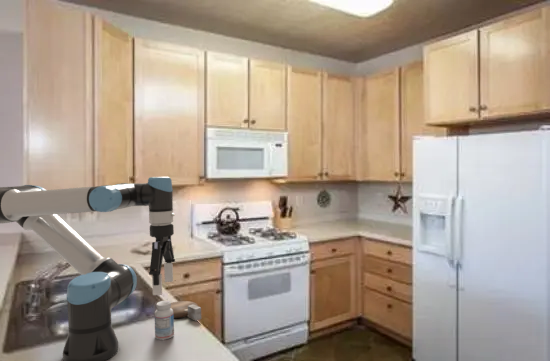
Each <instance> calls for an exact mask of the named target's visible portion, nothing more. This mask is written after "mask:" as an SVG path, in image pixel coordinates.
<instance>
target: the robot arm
mask: <svg viewBox="0 0 550 361" xmlns="http://www.w3.org/2000/svg"><path fill="white" fill-rule="evenodd" d="M173 192H174V189H173V181H172V178H171V177H170V176H151V177H148V179H147V182H144V183H140V182H139V183H138V182H137V183H136V182H135V183H128V182H122V183H117V184H114V185H113V184H112V185H111V184H110V185H109V184H108V185H107V184H106V185H98V186H87V187H73V188H72V187H70V188H60V189H45V188H44V187H42V186H39V185H33V184H24V185H20V186H19V185H18V186H15V185H14V186H2V187H1V186H0V224H8V223H9V224H10V223H15V222H16V223H17V224H18V225H19V226H20V227H21V228H23V229H24V231H33V232H34V233H35V234H36V235H38V237H40V238H41V240H43V242H45V243H46V244H47V245H49V247H51V248H52V250H53V251H54V252H55V253H57V254H58V255H59V256H60V257H61V258H62V259H63V260H64V261H65V262H66V263H67V264H69V265H70V266H71V267H72V268H73V269H74V270H75V271H76V272H77V273H78V274H79V275H78V276H76V277H74V278H73V279H72V280H70V281H69V282H68V284H67V288H66V289H67V291H66V292H67V293H66V300H67V321H68V323H67V324H68V333H67V337H66V340H65V344H64V347H63V350H62V361H107V360H109V359H111V358H112V357H113V356H115V355H116V354H118V351H119V340H118V337H117V335H116V333H115V330H114V328H113V325H112V309H113V308H114V307H116V306H118V305H119V304H121V303H122V302H124V301H125V300H127V299H129V297H130V296H131V295H133V293H134V292H135V289H137V283H138V282H137V281H138V280H137V279H138V278H137V275H136V272H135V270H134V269H133V268H132V267H131V266H129V265H128V264H122V263H118V262H117V261H116V260H114V259H113V258H112V257H104V256H102V254H100V252H99V251H98V250H96V249H95V248H94V247H93V246H92V245H91V244H90V243H88V242H87V241H86V240H85V238H83V237H82V236H81V235H80V234H79V233H78V232H77V231H76V230H74V228H73V227H71V226H70V225H69V224H68V223H67V222H66V221H64V219H63V218H61V217H60V216H59V215H63V214H64V215H65V214H66V215H67V214H76V213H77V214H79V213H92V212H93V213H94V212H95V213H96V212H97V213H108V212H109V213H110V212H113V211H117V210H121V209H125V208H130V207H148V218H149V220H148V223H149V224H150V225H149V236H150V237H152V238H155V241H152V242H151V257H150V266H149V272H148V275H149V276H151V278H152V279H151V281H152V283H151V284H152V285H151V286H152V296H162V295H163V283H162V282H163V278H162V277H163V276H162V273H161V272H162V265H164V266H163V267H164V268H163V270H164V272H163V273H164V283H169V282H170V283H173V282H174V271H173V270H174V268H173V267H174V266H173V263H175V262H176V259H175V255H174V250H173V248H174V247H173V243H172V236H173V235H174V228H175V227H174V224H173V222H174V217H175V215H176V214H175V213H174V209H173V208H174V207H173V205H174V204H173V201H174V200H173V196H174V195H173ZM163 260H164V264H163Z"/></svg>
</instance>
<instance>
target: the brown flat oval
mask: <svg viewBox="0 0 550 361" xmlns="http://www.w3.org/2000/svg"><path fill="white" fill-rule="evenodd" d="M170 308H172V309H173V316H174V319H179V318H180V319H181V318H186V317H187V318H189V319H191V320H193V321H199V320H202V307H201V306H199V305H198V303H196V302H194V301H189V300H180V301H174V302H171V307H170Z"/></svg>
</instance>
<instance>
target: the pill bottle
mask: <svg viewBox="0 0 550 361" xmlns="http://www.w3.org/2000/svg"><path fill="white" fill-rule="evenodd" d="M171 303H172V302H171V301H170V300H159V301H158V302H156V305H155V306H156V310H155V311H154V316H153V317H154V336H155V337H154V338H155V339H157V340H161V341H162V340H164V341H165V340H168V339H171V338H172V337H174V335H175V321H174V319H175V318H174V316H173V309H172V308H170V307H171Z"/></svg>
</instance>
